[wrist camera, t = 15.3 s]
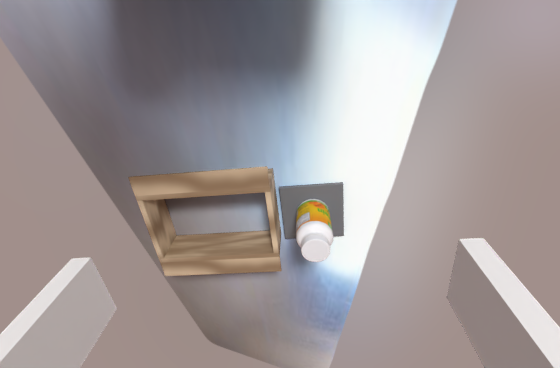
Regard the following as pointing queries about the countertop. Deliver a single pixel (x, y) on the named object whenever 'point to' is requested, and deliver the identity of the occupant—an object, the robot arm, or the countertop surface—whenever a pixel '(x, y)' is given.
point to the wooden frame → (209, 247)
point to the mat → (322, 192)
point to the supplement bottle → (314, 230)
